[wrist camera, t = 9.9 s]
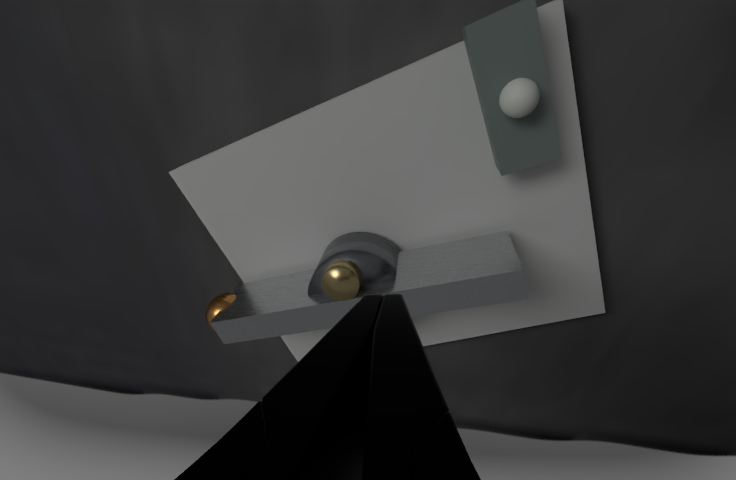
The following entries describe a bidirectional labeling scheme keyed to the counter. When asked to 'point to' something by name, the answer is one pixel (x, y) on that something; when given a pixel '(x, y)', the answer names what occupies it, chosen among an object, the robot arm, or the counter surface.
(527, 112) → the white mechanism board
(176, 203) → the counter surface
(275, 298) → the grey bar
